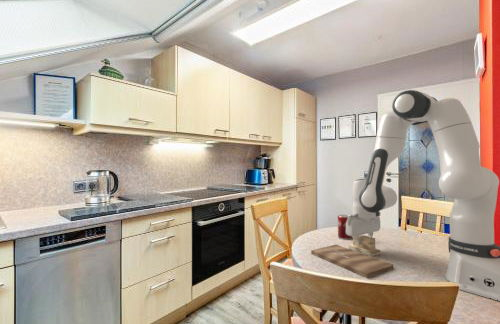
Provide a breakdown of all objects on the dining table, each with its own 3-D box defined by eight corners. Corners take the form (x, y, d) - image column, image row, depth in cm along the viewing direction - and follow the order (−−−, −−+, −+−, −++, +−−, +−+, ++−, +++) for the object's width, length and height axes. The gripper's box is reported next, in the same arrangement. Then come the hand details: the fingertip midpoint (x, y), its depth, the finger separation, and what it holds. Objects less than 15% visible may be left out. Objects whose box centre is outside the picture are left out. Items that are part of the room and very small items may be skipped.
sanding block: (380, 254, 109) (380, 238, 110) (371, 257, 107) (371, 240, 107) (357, 246, 120) (356, 232, 120) (348, 249, 117) (348, 234, 117)
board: (393, 268, 94) (393, 264, 94) (366, 278, 86) (366, 273, 86) (336, 247, 119) (336, 244, 119) (311, 253, 111) (311, 250, 111)
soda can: (354, 237, 135) (353, 215, 135) (349, 240, 130) (348, 217, 130) (341, 234, 140) (340, 213, 140) (335, 237, 135) (335, 216, 135)
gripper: (353, 216, 106) (354, 248, 106) (382, 211, 116) (383, 241, 116) (341, 214, 111) (342, 244, 111) (370, 209, 121) (371, 237, 121)
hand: (363, 243), depth 113 cm, fingers open, 6 cm apart
